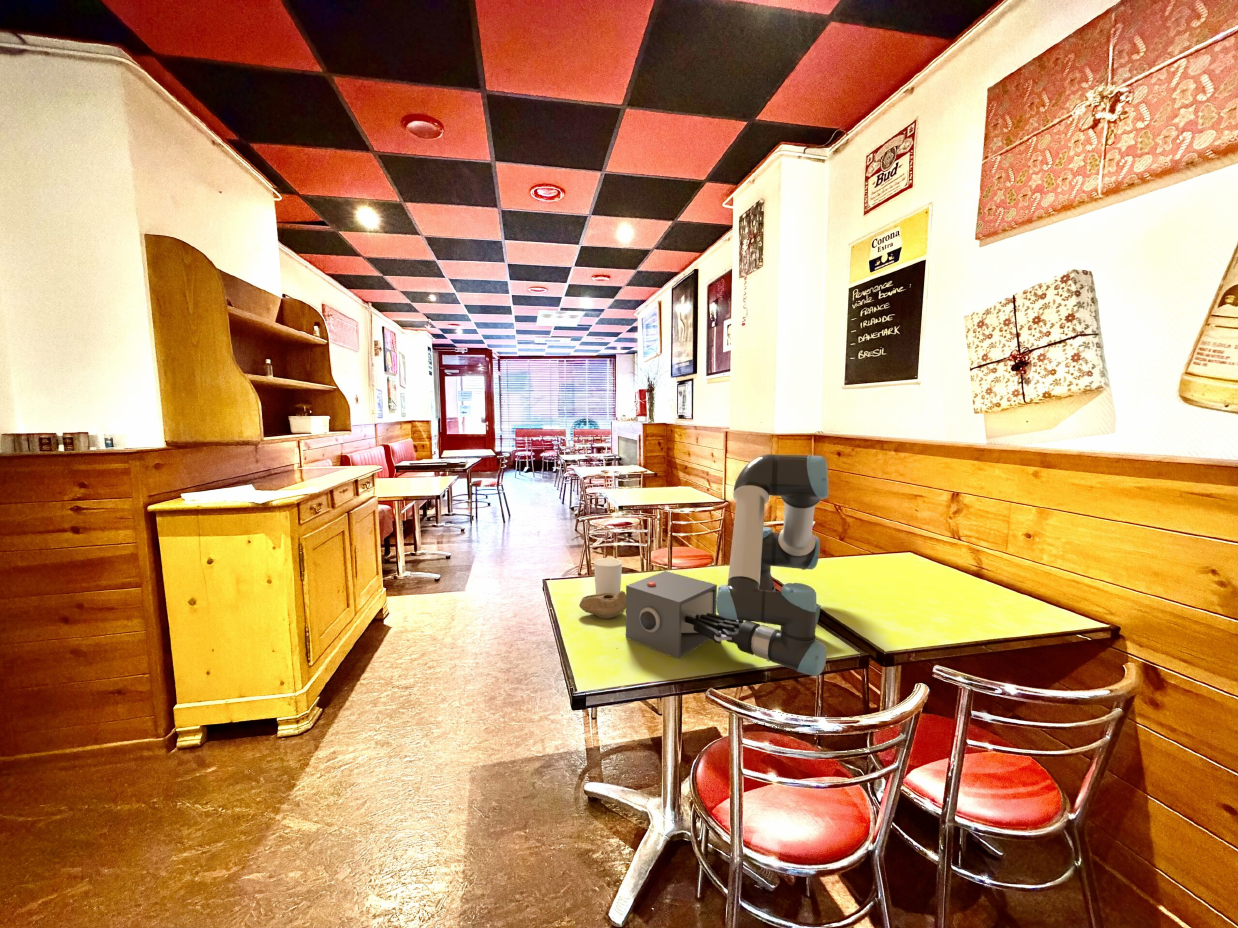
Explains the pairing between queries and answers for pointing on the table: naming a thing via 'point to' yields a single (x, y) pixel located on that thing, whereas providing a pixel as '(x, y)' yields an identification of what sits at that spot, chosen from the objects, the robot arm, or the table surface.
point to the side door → (697, 609)
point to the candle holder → (608, 575)
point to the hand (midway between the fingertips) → (678, 613)
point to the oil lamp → (604, 604)
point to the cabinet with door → (664, 612)
